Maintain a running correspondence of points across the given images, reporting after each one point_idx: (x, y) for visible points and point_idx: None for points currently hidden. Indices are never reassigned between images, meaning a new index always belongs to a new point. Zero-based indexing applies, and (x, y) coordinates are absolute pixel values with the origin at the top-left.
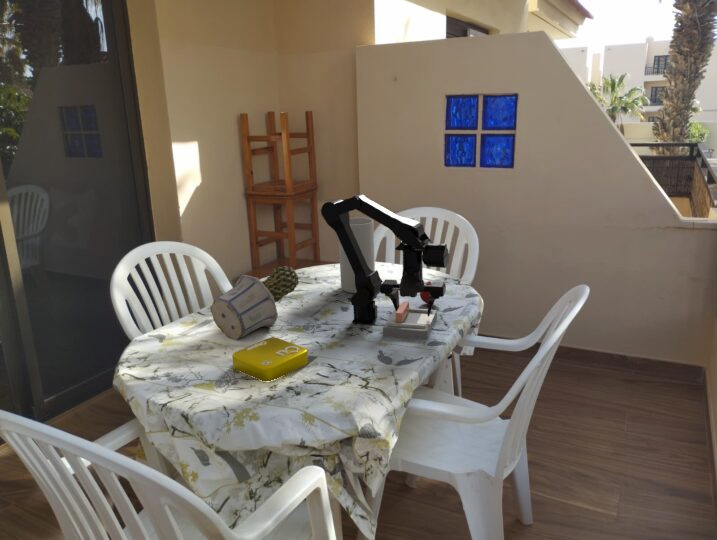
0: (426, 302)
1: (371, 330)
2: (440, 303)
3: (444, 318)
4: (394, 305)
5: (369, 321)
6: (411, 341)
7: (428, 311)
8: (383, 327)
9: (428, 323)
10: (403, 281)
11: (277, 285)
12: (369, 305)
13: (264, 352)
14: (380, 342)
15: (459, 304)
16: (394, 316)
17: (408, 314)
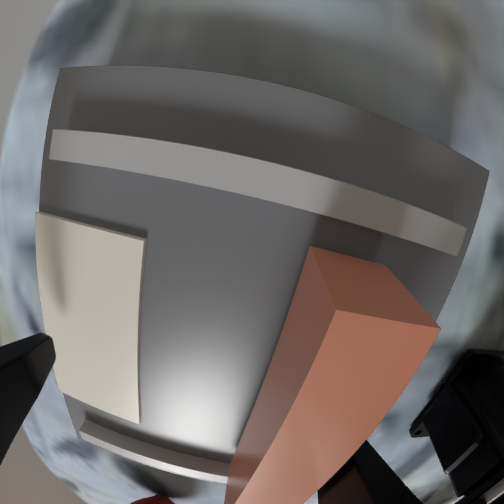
0: (165, 502)
1: (491, 268)
2: (125, 487)
3: (62, 393)
4: (396, 481)
5: (472, 372)
6: (224, 29)
7: (12, 354)
8: (486, 173)
9: (47, 237)
10: None
11: None
12: None
13: None
14: (455, 52)
15: (67, 463)
16: None
17: (235, 435)
